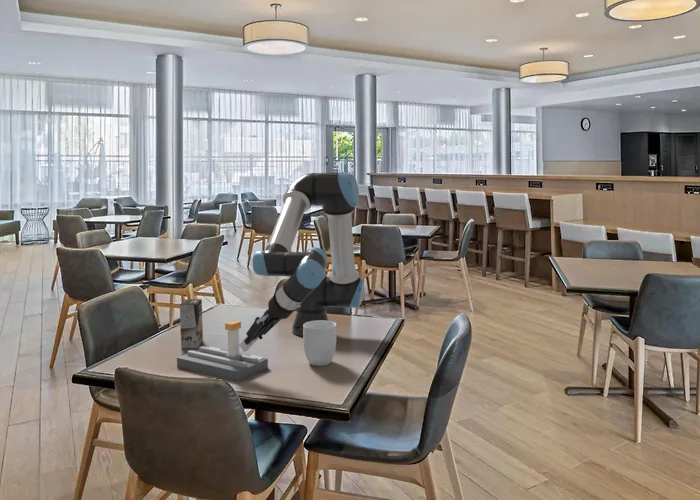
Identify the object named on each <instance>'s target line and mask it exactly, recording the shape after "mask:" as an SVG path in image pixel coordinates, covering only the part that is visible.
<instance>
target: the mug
mask: <svg viewBox="0 0 700 500" xmlns="http://www.w3.org/2000/svg"><path fill="white" fill-rule="evenodd" d="M337 329H338V328H337V323H336V322H335V321H331V320H329V321H325V320H317V321H310V322H306V323H305V324H304V325H303V336H302V338H303V341H302V343H303V349H304V353H305V357H306V359H307V361H308V362H309V364H310V365H312V366H315V367H326V366H329V364H330V363H331V362H332V361H333V359H334V356H335V353H336V348H337Z"/></svg>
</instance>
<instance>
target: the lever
mask: <svg viewBox="0 0 700 500" xmlns="http://www.w3.org/2000/svg"><path fill="white" fill-rule="evenodd" d="M241 328H242V322H241V321H238V320H232V321H227V322H225V323H224V329H225V330H227V348H228V349H227V350H228V354H227V355H226V358H229V359H234V360H238V361H239V360H242V354H243V353H242V354H239V353H240V346H239V345H240V334H239V333H240V330H239V329H241Z"/></svg>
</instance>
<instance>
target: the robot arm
mask: <svg viewBox="0 0 700 500" xmlns="http://www.w3.org/2000/svg"><path fill="white" fill-rule="evenodd" d="M359 195H360V191H359V184H358V182H357V178H356V177H355V175H354V174H353V173H348V172H346V173H345V172H311V173H306V174H304V175H302V176H300V177H299V178H297V179H296V180H295V181H293V182H292V184H290V185H289V186H288V187H287V189H286V191H285V192H284V195H283V197H282V203H283V205H282V207H281V211H280V213H279V215H278V217H277V219H276V222H275V225H274V227H273V230H272V233H271V235H270V237H269V240H268V243H267V244H266V247H265V249H264V250H259V251H258V250H257V251H256V252H254V254H253V257H252V263H251V265H252V269H253V272H254V274H255V275H258V276H264V277H289V278H288V279H287V280H286V281H285V283H283V284H282V285H281V287H280V288H278V290H277V291H276V292H275V293H274V294H273V296H272V297H271V298H269V301H268V303H267V304H268V305H267V308H268V309H266V310H265V312H263V315H262V316H261V317H259V316H256V318H255V319H254V322H253V323H252V324H251V326H250V327H249V328H248V330H247V331H246V333H245V334H246V337H245V338H244V339H243V340H242V341H241V343H239V348H241V350H242V351H243V352H244V353H245V352H247V351H248V350H250V348H251V347H252V346H253V345H255V343H256V342H257V341H258V340H263V339H264V338H263V336H265V335H266V334H267V333H269V331H270V330H272V329H273V328H274V327H275V326H276V325H277V324H278V323H279V322H280V321H281V320H285V319H288V318H289V317H290V316H291V315H292V314H293V313H294V312H295V311H296V312H295V317H294V319H293V322H292V323H293V324H292V327H291V330H292V331H291V332H292V334H294V335H295V336H300V337H303V325H304V324H305V323H306V322H310V321H317V320H325V321H330V320H329V317H328V314H327V307H329V308H347V309H351V308H352V309H353V308H354V309H355V308H359V307H361V304H362V301H363V297H364V291H365V279H364V278H363V277H360V276H361V275H360V272H359V271H358V270H357V269H356V266H355V263H356V262H355V251H354V250H355V248H354V236H353V223H352V222H353V219H352V214H353V213H354V211H355V209H356V207H357V206H359V203H360V196H359ZM312 206H313V207H322V212H323V213H324V215H326V217H327V223H328V225H327V226H328V235H329V245H330V247H329V248H330V257H331V269H332V271H331V272H330V273H329V275H328V276H327V274H326V272H325V269H326V268H327V264H328V255H327V254H326V252H325V251H324V250H323V249H322V248H320V247H316V246H314V247H310V248H308V249H307V250H306V251H305V252H304V251H291V250H292V246H293V244H294V241H295V239H296V236H297V233H298V231H299V227H300V225H301V223H302V220H303V216H304V215H305V213H306V212H308V210H309V209H310V207H312Z"/></svg>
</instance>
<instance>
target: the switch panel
mask: <svg viewBox="0 0 700 500" xmlns="http://www.w3.org/2000/svg"><path fill="white" fill-rule="evenodd" d="M186 352H187V353H186V354H183V355H180V356H177V357H176V367H177V368H182V369H185V370H189V371H193V372H197V373H201V374H202V373H203V374H205V375H210V376H215V377H219V378H222V379H223V378H224V379H227V380H231V381H235V382H240V381H242V380H243V381H244V380H245V379H247V378H249V377H251V376H253V375H256V374H257V373H260V372H262V371H264V370H266V369H268V368H269V363H268V362H269V359H268V358H265V357H263V356H259V355H258V356H257V355H254V354H245V353H242V352H239V354H242V360H239V361H238V360H234V359H229V358H226V355H227V354H228V349H223V348H219V347H216V346H215V347H214V346H203V345H202V346H201V345H200V346H199V347H198V349H197V350H188V351H186Z"/></svg>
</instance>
